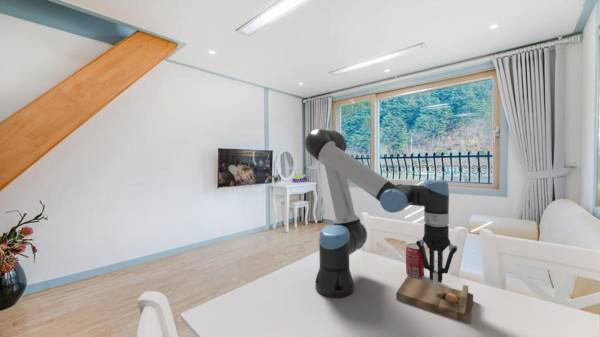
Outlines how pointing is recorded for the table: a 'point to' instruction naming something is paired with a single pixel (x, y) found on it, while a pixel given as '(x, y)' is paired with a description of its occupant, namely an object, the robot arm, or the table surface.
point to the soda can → (414, 262)
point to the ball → (452, 298)
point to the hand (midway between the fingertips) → (435, 289)
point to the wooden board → (436, 298)
